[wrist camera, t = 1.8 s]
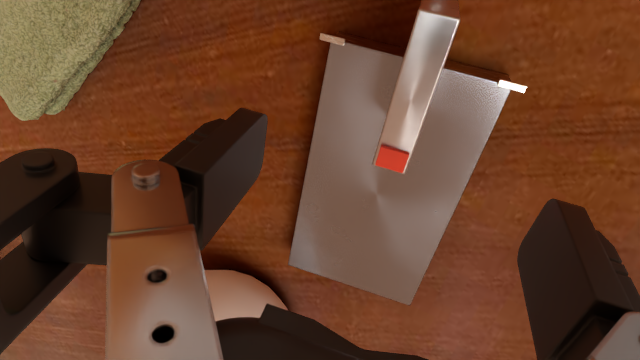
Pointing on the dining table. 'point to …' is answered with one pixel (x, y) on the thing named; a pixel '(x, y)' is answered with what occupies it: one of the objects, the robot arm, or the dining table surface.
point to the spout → (417, 82)
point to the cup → (238, 294)
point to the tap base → (382, 184)
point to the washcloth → (54, 49)
